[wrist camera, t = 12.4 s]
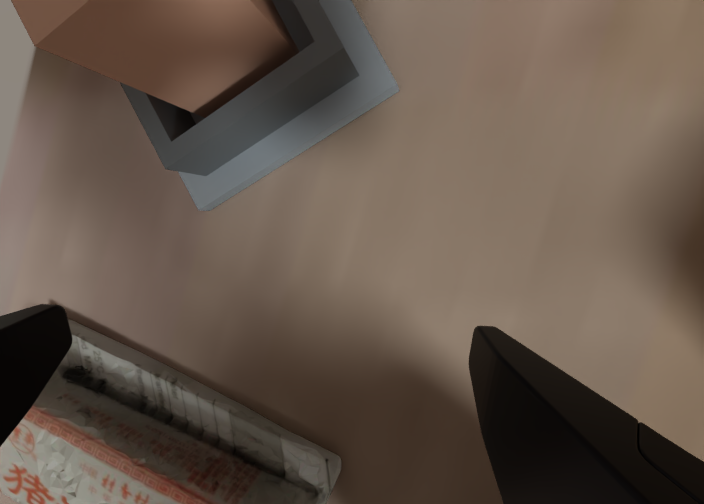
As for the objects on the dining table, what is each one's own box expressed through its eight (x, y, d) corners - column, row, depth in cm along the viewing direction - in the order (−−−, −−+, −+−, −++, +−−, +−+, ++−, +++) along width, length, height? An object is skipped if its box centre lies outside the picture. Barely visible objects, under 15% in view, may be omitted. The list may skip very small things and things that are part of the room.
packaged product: (323, 517, 16) (245, 705, 18) (349, 449, 21) (286, 603, 23) (-24, 333, 19) (-65, 509, 21) (67, 310, 24) (29, 454, 26)
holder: (399, 90, 19) (388, 57, 15) (209, 210, 21) (157, 208, 17) (284, -118, 19) (244, -205, 15) (111, 24, 21) (37, -19, 17)
